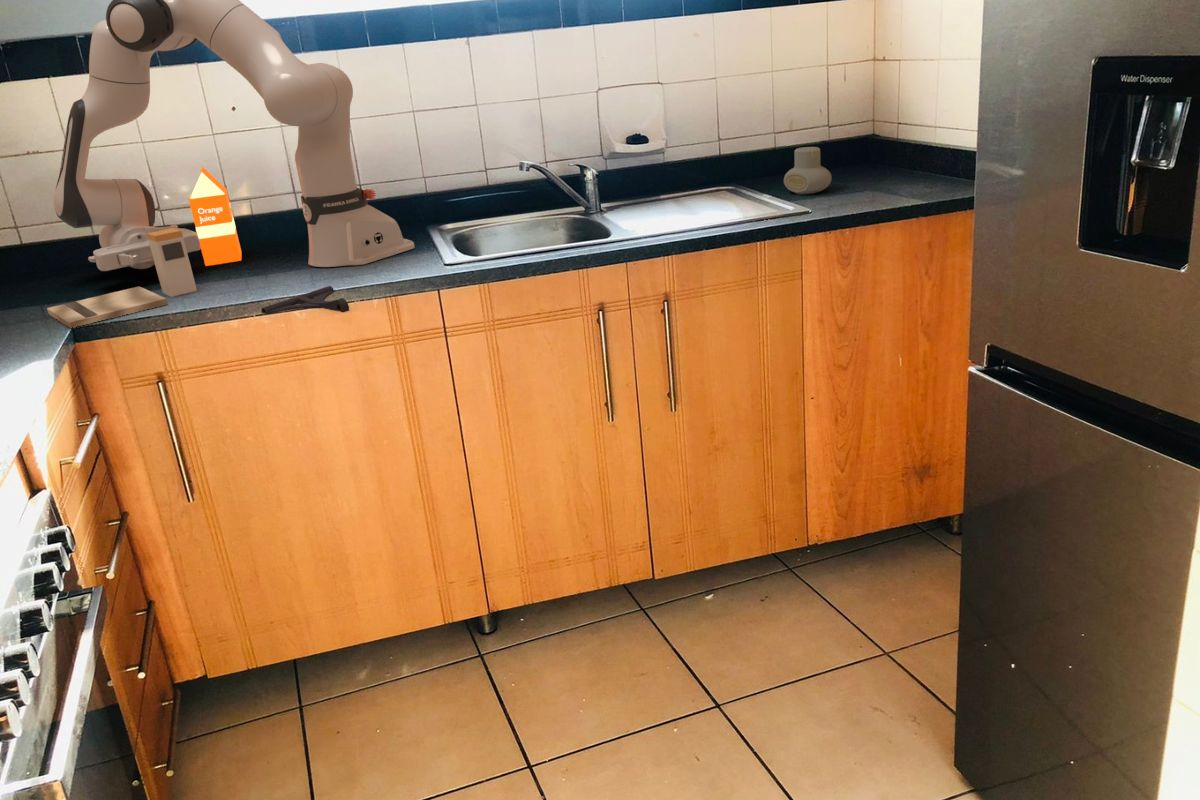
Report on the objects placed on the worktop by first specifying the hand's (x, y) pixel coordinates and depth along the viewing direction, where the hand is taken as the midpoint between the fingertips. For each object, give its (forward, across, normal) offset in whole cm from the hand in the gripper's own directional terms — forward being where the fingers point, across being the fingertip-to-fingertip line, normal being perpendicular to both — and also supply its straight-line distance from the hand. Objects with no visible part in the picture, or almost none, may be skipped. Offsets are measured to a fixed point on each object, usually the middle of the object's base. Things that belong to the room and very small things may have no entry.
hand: (159, 254), depth 190 cm
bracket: (+44, +12, +8) cm, 47 cm away
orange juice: (-14, +17, +7) cm, 23 cm away
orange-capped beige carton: (+8, 0, +6) cm, 10 cm away
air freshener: (+62, +128, +8) cm, 143 cm away
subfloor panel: (+8, -14, +6) cm, 17 cm away
